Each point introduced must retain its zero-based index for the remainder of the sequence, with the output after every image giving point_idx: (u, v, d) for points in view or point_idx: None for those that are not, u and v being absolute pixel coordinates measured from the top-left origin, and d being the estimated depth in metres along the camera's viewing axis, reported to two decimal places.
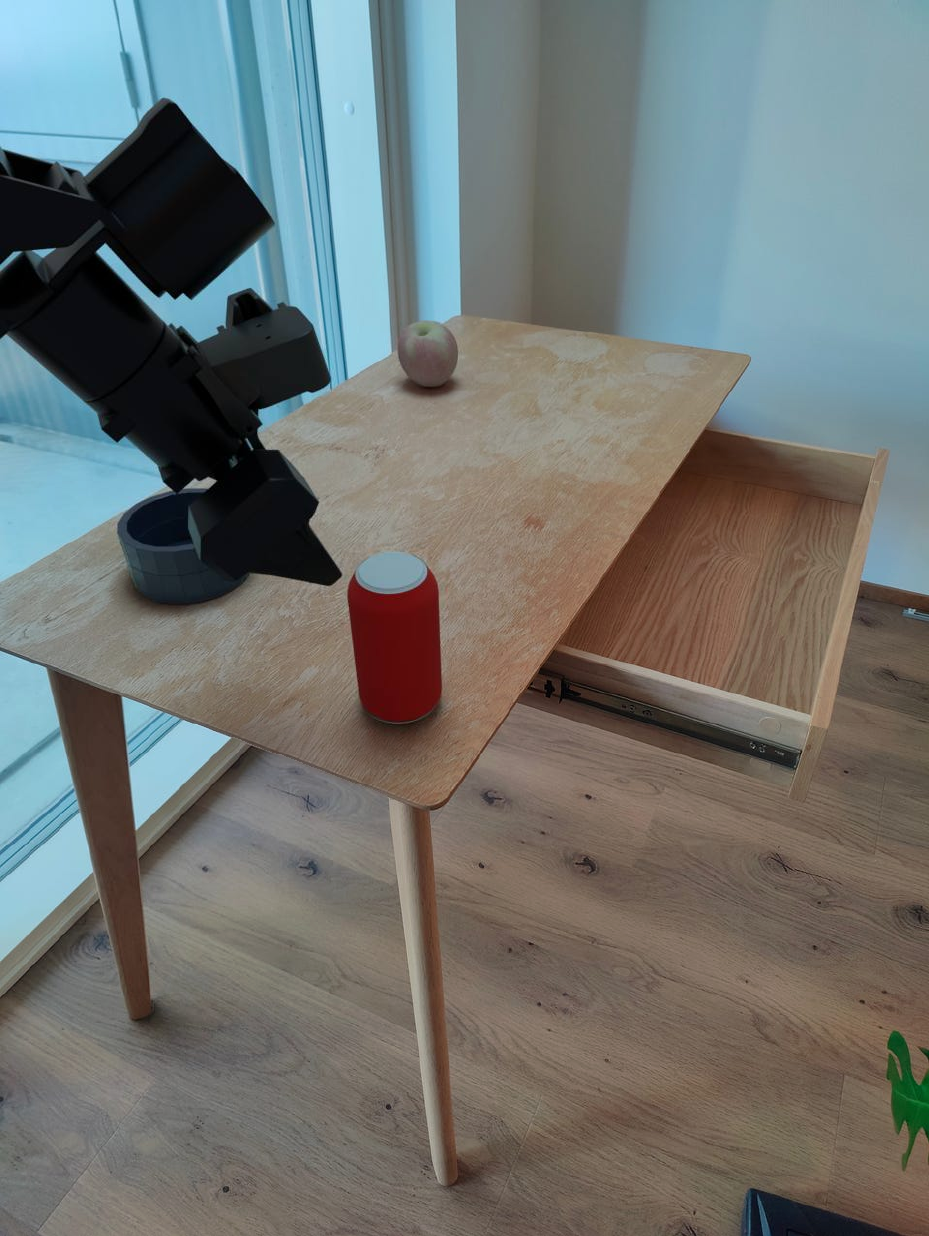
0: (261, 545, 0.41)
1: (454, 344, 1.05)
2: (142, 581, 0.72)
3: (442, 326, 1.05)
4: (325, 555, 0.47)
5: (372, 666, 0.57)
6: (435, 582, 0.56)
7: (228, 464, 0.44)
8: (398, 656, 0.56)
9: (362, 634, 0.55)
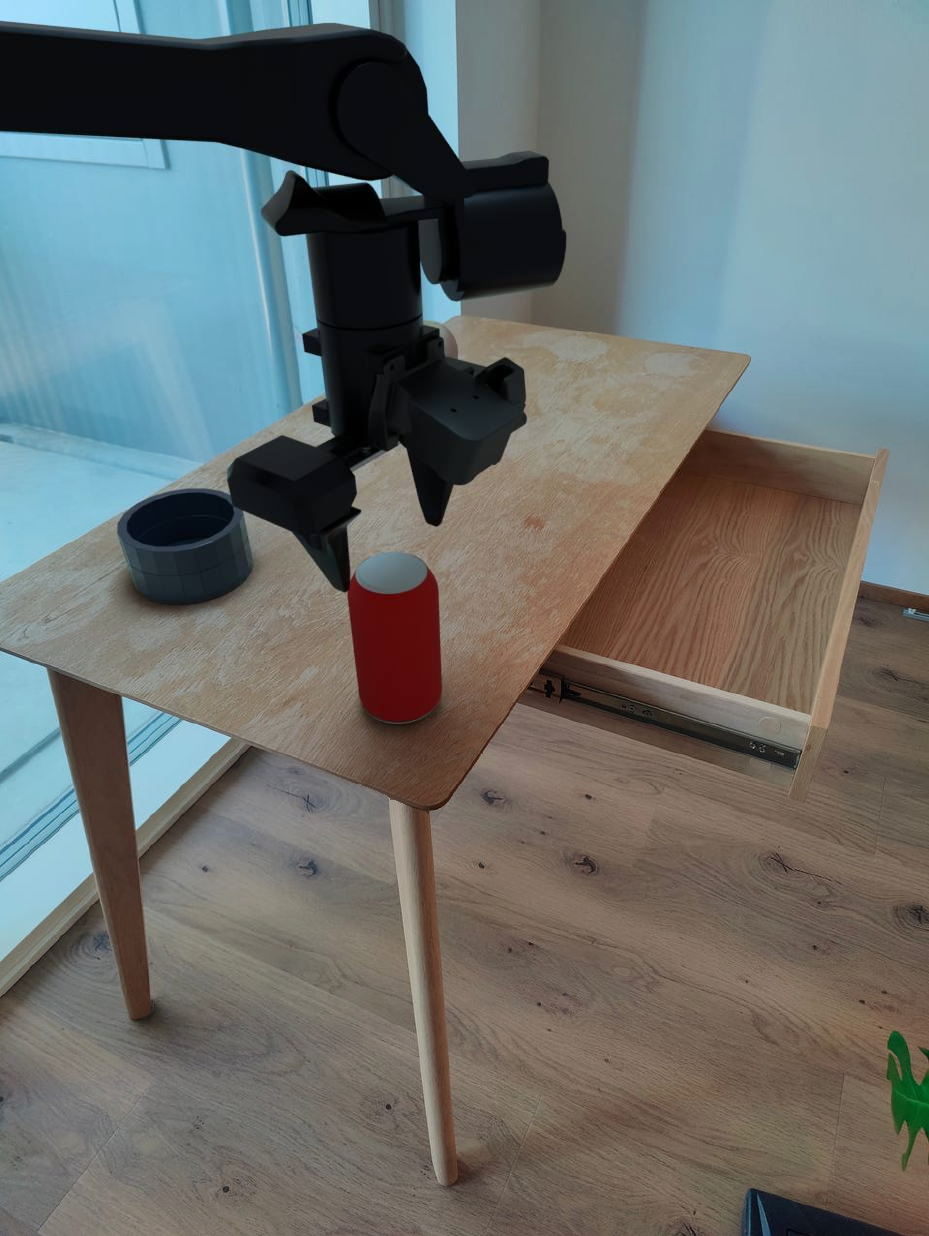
0: (258, 508, 0.44)
1: (454, 344, 1.05)
2: (142, 581, 0.72)
3: (442, 326, 1.05)
4: (336, 568, 0.49)
5: (372, 666, 0.57)
6: (435, 582, 0.56)
7: (340, 445, 0.46)
8: (398, 656, 0.56)
9: (362, 634, 0.55)
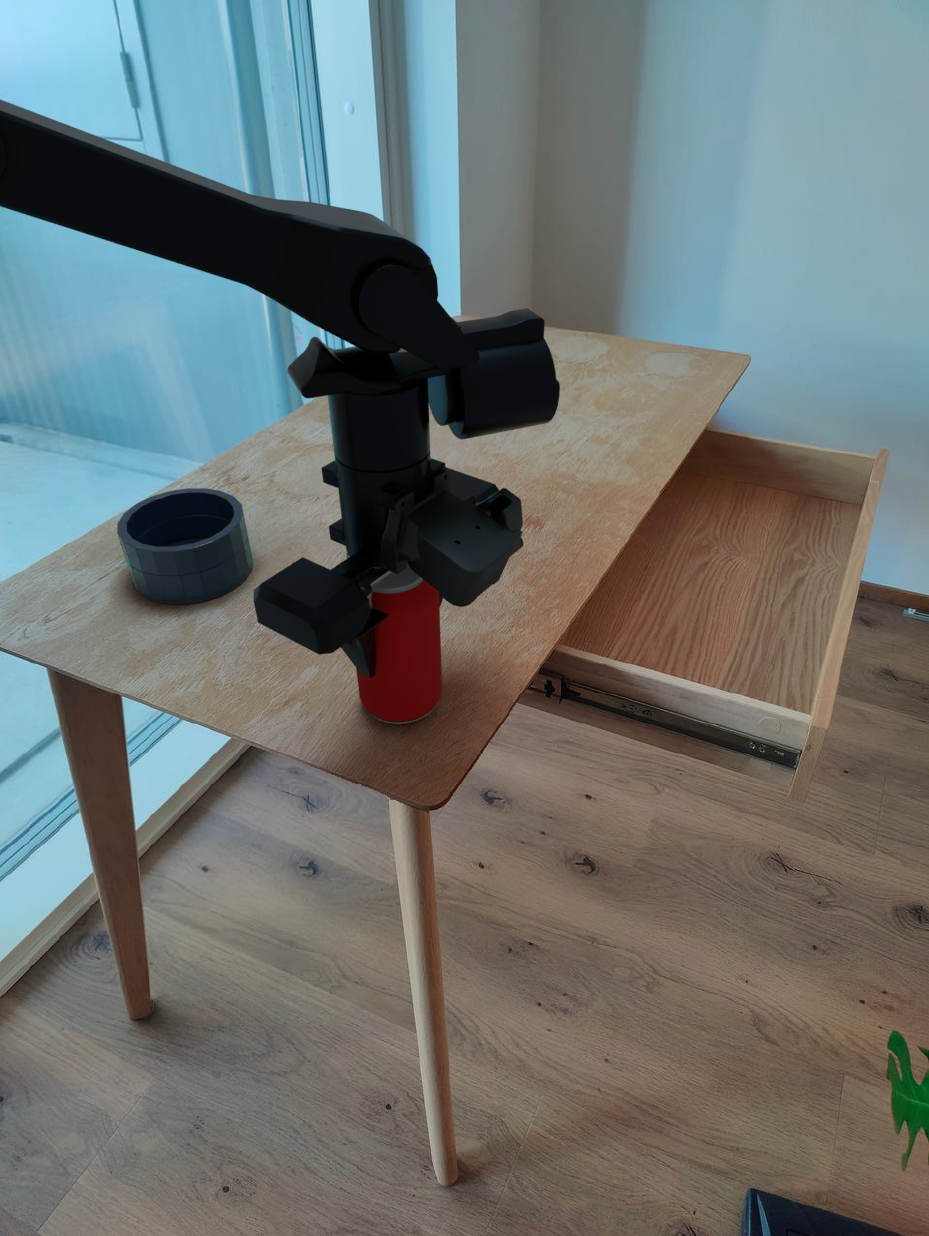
0: (281, 627, 0.49)
1: None
2: (142, 581, 0.72)
3: None
4: (364, 659, 0.55)
5: None
6: None
7: (355, 566, 0.51)
8: (398, 656, 0.56)
9: None
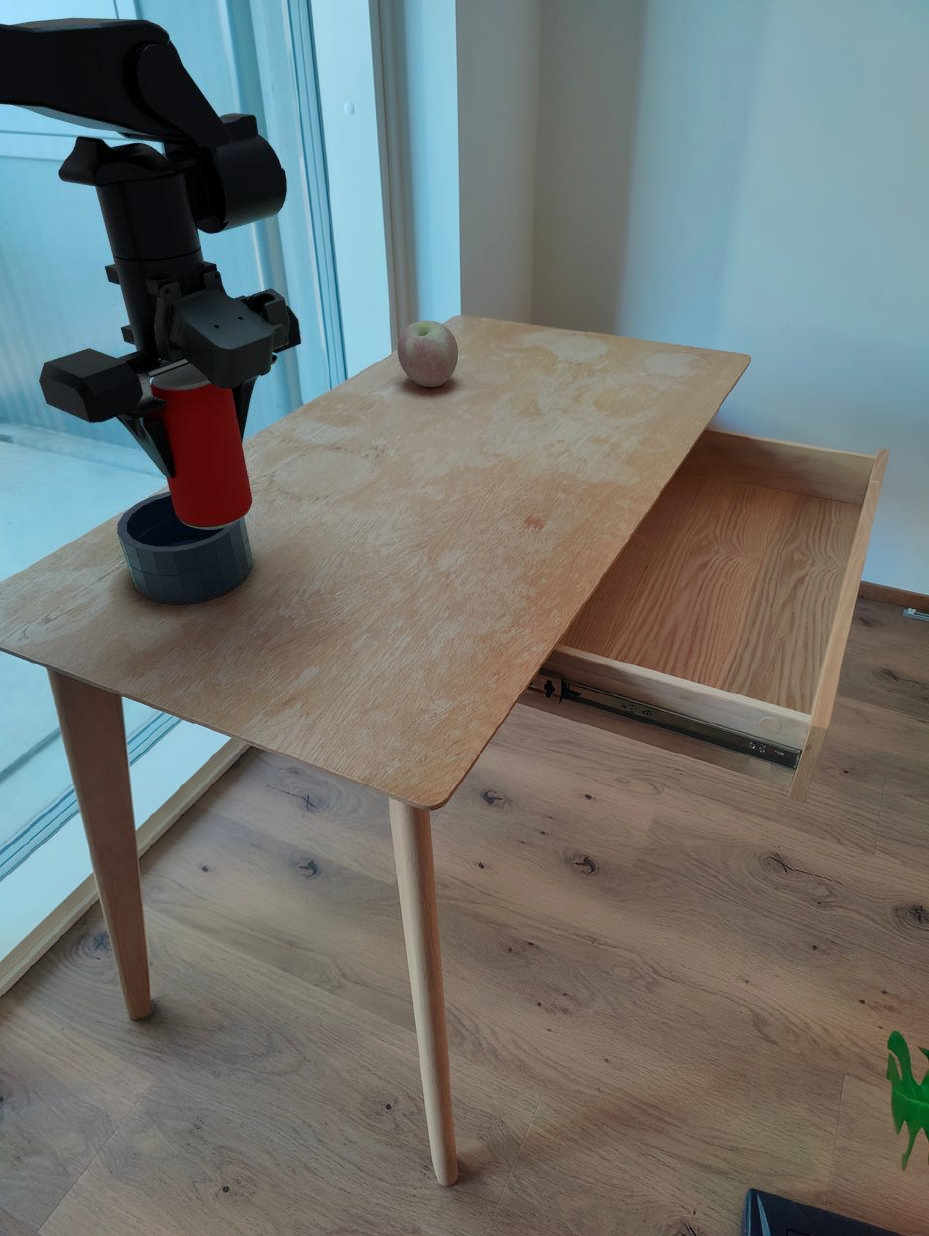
0: (61, 402, 0.55)
1: (454, 344, 1.05)
2: (142, 581, 0.72)
3: (442, 326, 1.05)
4: (159, 454, 0.61)
5: None
6: None
7: (136, 357, 0.57)
8: (192, 455, 0.62)
9: None
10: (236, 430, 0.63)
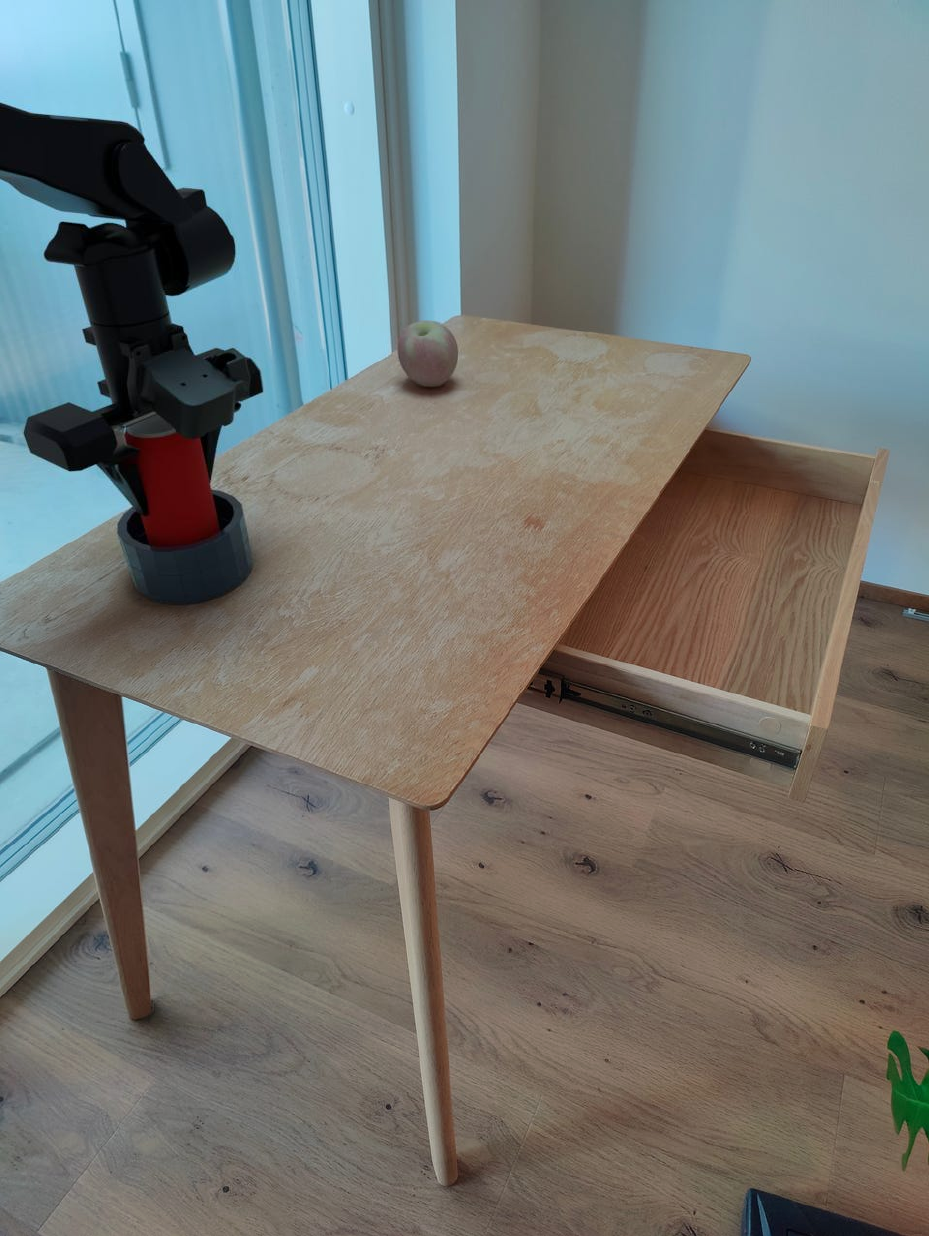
0: (44, 453, 0.61)
1: (454, 344, 1.05)
2: (142, 581, 0.72)
3: (442, 326, 1.05)
4: (133, 495, 0.67)
5: None
6: None
7: (111, 410, 0.63)
8: (164, 495, 0.68)
9: None
10: (204, 471, 0.70)
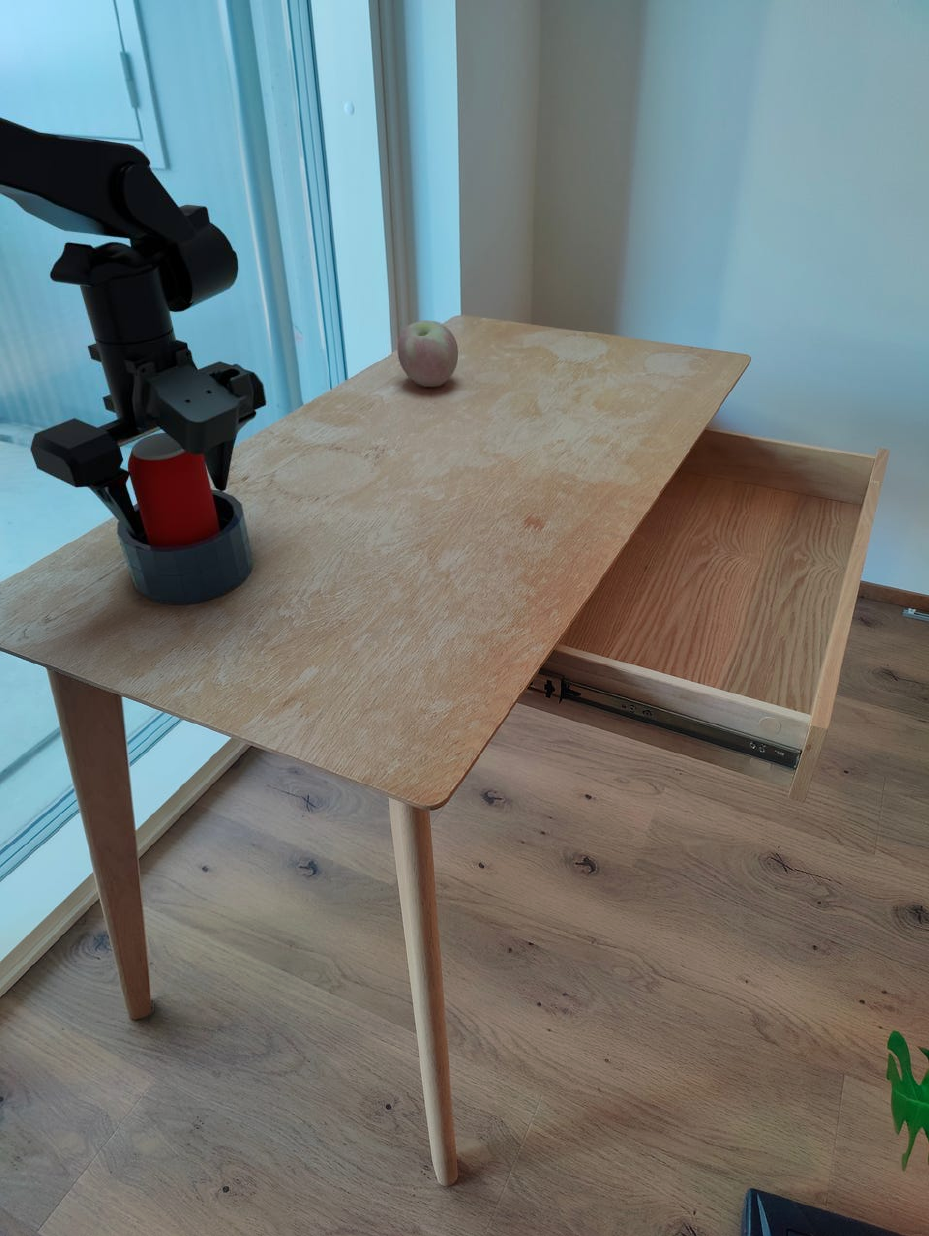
0: (50, 469, 0.62)
1: (454, 344, 1.05)
2: (142, 581, 0.72)
3: (442, 326, 1.05)
4: (124, 516, 0.67)
5: (151, 525, 0.70)
6: (199, 455, 0.69)
7: (117, 425, 0.64)
8: (169, 515, 0.69)
9: (139, 496, 0.69)
10: (208, 491, 0.71)
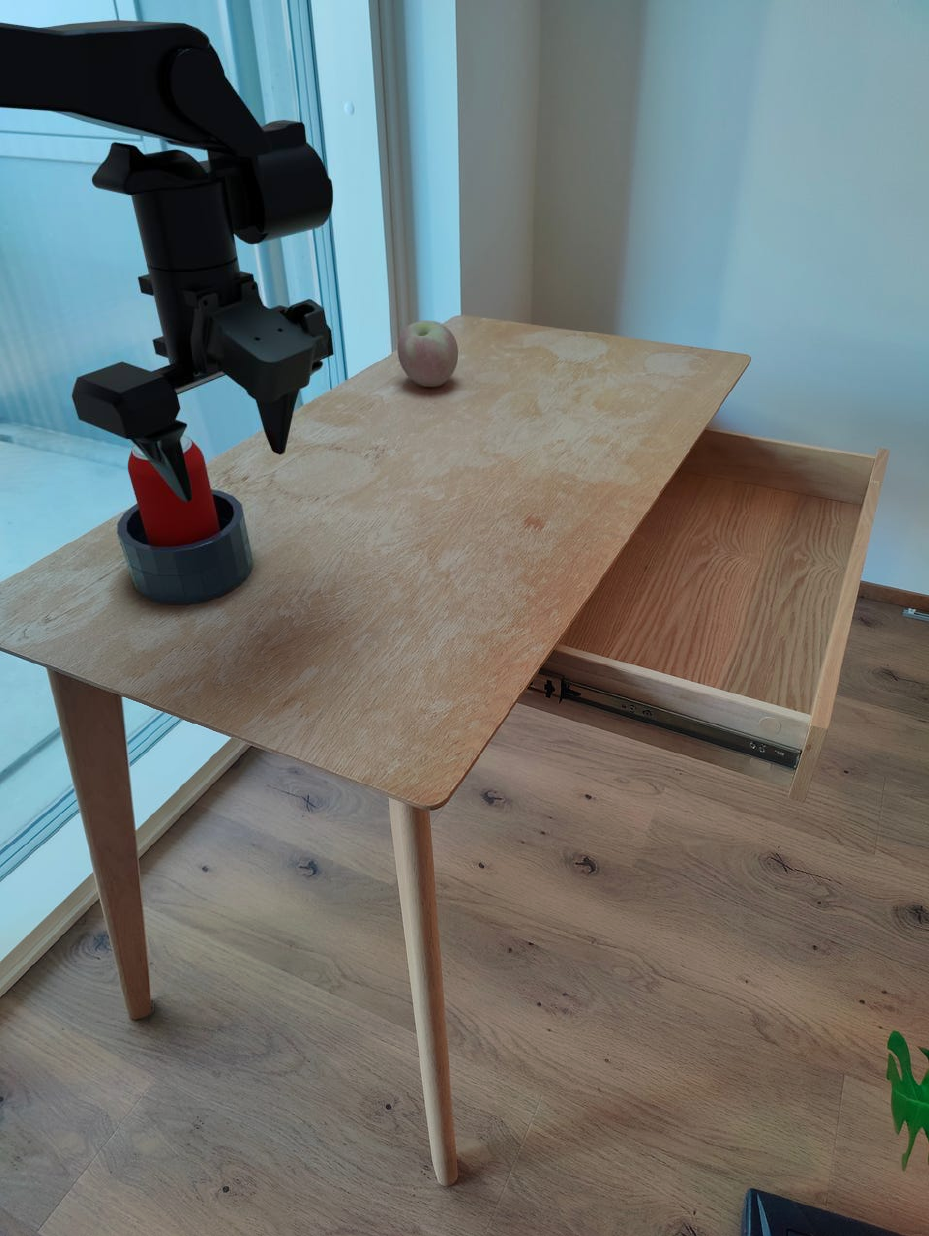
0: (96, 418, 0.53)
1: (454, 344, 1.05)
2: (142, 581, 0.72)
3: (442, 326, 1.05)
4: (176, 478, 0.58)
5: (151, 525, 0.70)
6: (199, 455, 0.69)
7: (171, 370, 0.55)
8: (169, 515, 0.69)
9: (139, 496, 0.69)
10: (208, 491, 0.71)
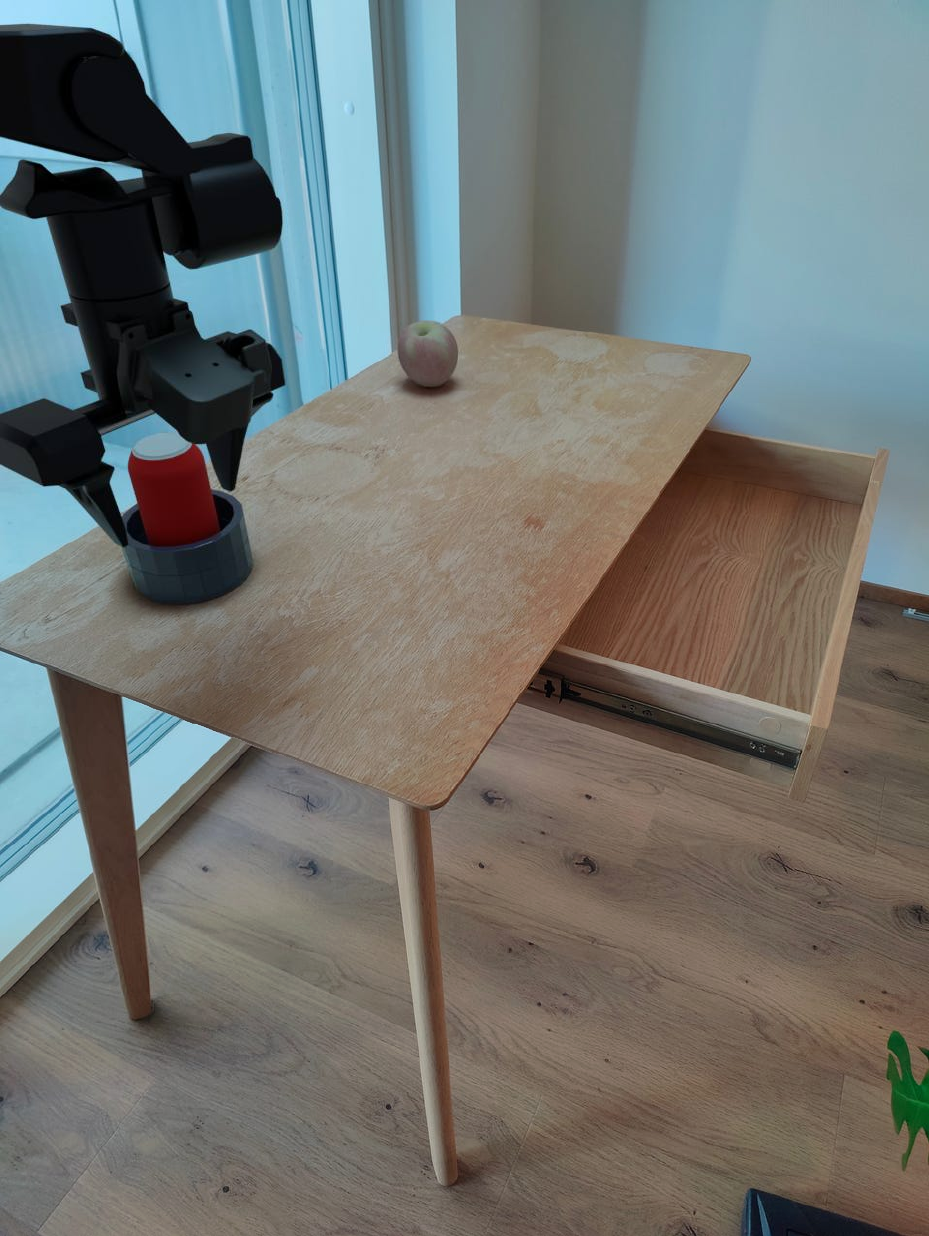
0: (12, 462, 0.48)
1: (454, 344, 1.05)
2: (142, 581, 0.72)
3: (442, 326, 1.05)
4: (107, 523, 0.53)
5: (151, 525, 0.70)
6: (199, 455, 0.69)
7: (98, 408, 0.50)
8: (169, 515, 0.69)
9: (139, 496, 0.69)
10: (208, 491, 0.71)
